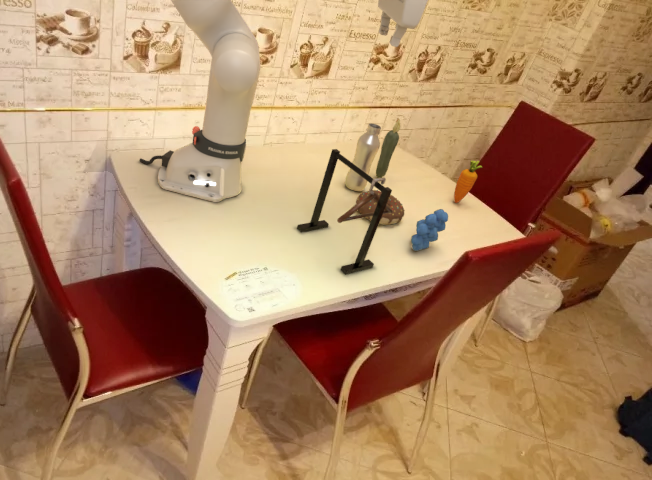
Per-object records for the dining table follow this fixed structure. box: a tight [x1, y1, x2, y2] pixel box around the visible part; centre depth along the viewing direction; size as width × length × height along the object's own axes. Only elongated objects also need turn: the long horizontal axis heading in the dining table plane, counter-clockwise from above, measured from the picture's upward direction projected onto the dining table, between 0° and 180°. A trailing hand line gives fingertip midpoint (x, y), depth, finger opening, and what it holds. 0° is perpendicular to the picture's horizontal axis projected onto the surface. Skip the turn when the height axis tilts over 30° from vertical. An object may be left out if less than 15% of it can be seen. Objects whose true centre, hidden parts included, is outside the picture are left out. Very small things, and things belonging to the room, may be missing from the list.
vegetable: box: [375, 117, 401, 179], centre depth 162 cm, size 4×4×20 cm
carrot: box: [453, 160, 483, 204], centre depth 162 cm, size 5×5×15 cm
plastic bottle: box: [344, 122, 382, 192], centre depth 152 cm, size 6×7×20 cm
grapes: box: [410, 208, 449, 252], centre depth 135 cm, size 12×7×12 cm, turn 129°
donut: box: [355, 189, 406, 226], centre depth 147 cm, size 14×14×5 cm
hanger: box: [336, 177, 393, 224], centre depth 115 cm, size 17×1×10 cm, turn 125°
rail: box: [296, 148, 393, 276], centre depth 123 cm, size 9×20×22 cm, turn 35°
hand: (387, 39), depth 117 cm, fingers open, 8 cm apart
